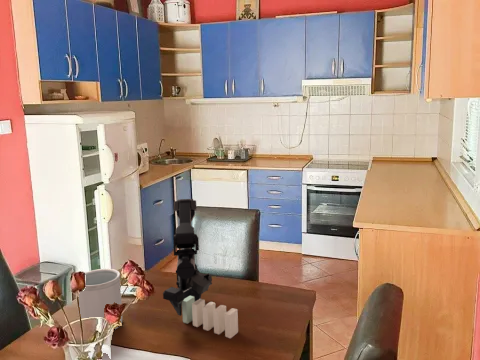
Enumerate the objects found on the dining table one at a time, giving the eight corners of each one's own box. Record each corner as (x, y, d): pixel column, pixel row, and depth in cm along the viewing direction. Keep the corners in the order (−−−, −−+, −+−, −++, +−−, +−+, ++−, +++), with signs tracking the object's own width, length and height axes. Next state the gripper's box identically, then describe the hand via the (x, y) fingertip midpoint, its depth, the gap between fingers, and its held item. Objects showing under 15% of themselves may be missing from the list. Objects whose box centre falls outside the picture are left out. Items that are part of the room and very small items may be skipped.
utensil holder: (70, 326, 149) (65, 278, 146) (107, 310, 160) (104, 264, 157) (94, 341, 139) (89, 289, 136) (132, 322, 151) (129, 274, 147)
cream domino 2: (203, 329, 145) (202, 306, 144) (211, 323, 149) (210, 301, 147) (208, 330, 144) (207, 308, 142) (216, 325, 147) (215, 302, 146)
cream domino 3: (214, 332, 142) (213, 310, 141) (222, 326, 146) (221, 304, 145) (219, 334, 141) (218, 311, 140) (226, 328, 145) (226, 306, 144)
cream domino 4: (225, 336, 140) (224, 313, 139) (233, 330, 144) (232, 307, 142) (230, 338, 139) (229, 315, 137) (238, 332, 142) (237, 309, 141)
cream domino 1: (192, 325, 147) (191, 303, 146) (201, 320, 151) (200, 298, 150) (197, 327, 146) (196, 304, 145) (205, 321, 150) (204, 299, 148)
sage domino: (182, 322, 150) (181, 300, 148) (191, 316, 153) (189, 295, 152) (187, 323, 149) (186, 301, 147) (195, 318, 152) (194, 296, 151)
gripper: (186, 281, 136) (189, 328, 138) (222, 262, 151) (223, 304, 154) (160, 274, 142) (163, 319, 145) (197, 256, 157) (198, 297, 160)
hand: (188, 309), depth 150 cm, fingers open, 9 cm apart
